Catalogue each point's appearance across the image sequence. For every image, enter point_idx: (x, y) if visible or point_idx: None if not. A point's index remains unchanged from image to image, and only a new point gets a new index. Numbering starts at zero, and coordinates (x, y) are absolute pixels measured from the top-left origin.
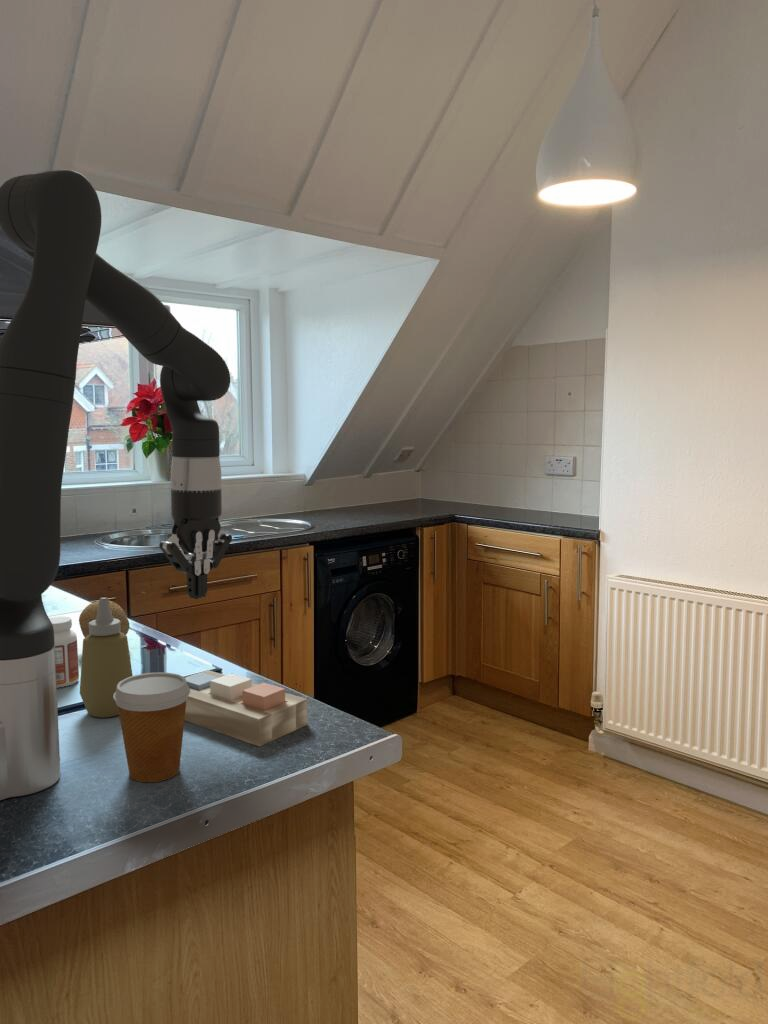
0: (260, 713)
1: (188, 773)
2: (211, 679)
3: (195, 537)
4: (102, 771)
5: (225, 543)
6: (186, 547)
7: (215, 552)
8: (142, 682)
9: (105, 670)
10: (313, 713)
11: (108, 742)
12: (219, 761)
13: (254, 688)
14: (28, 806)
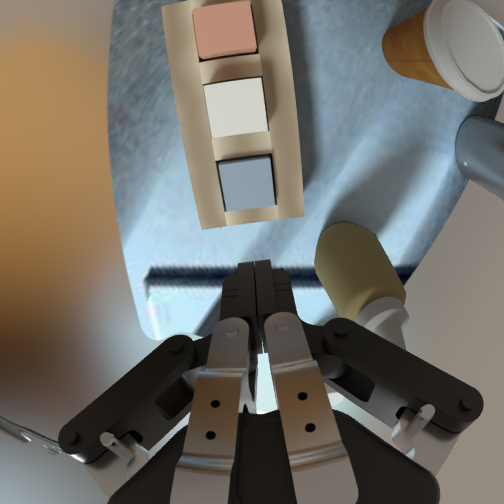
0: (262, 1)
1: (382, 19)
2: (235, 168)
3: (354, 480)
4: (435, 101)
5: (97, 424)
6: (366, 429)
7: (152, 405)
8: (479, 70)
9: (383, 254)
10: (135, 47)
11: (395, 159)
12: (339, 10)
13: (232, 41)
14: (489, 103)
